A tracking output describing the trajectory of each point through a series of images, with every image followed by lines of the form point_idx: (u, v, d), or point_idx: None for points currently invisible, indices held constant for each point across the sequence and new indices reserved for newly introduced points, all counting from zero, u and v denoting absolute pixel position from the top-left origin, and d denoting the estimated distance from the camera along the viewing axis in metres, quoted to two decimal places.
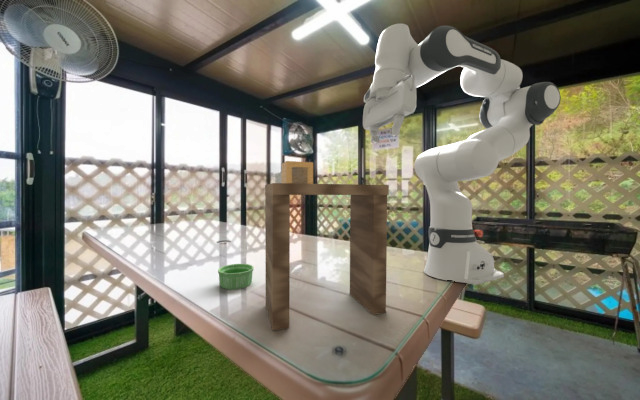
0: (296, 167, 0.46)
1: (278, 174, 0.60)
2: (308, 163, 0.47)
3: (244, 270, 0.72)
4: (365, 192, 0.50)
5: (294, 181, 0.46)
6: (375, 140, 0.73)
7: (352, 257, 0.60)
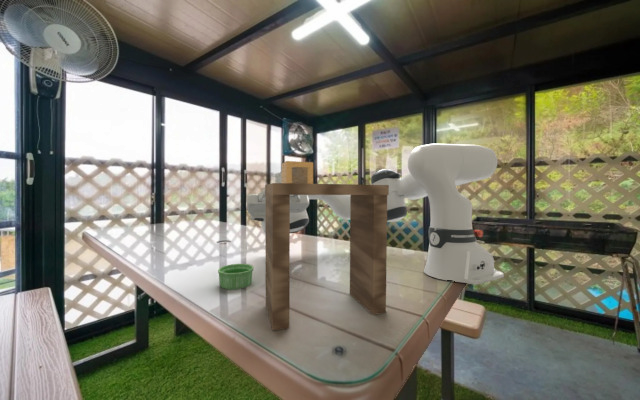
0: (296, 167, 0.46)
1: (278, 174, 0.60)
2: (308, 163, 0.47)
3: (244, 270, 0.72)
4: (365, 192, 0.50)
5: (294, 181, 0.46)
6: None
7: (352, 257, 0.60)
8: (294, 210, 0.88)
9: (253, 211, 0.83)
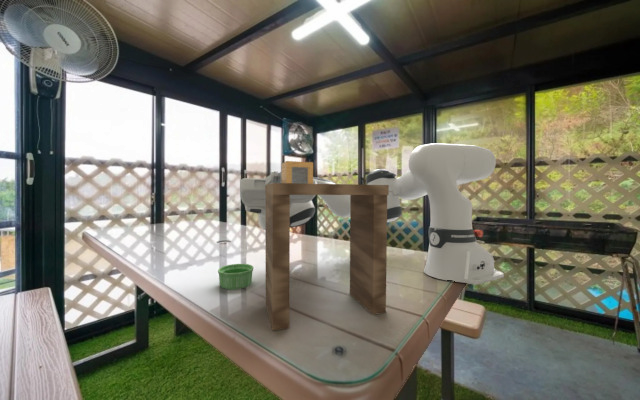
0: (296, 167, 0.46)
1: (278, 174, 0.60)
2: (308, 163, 0.47)
3: (244, 270, 0.72)
4: (365, 192, 0.50)
5: (294, 181, 0.46)
6: None
7: (352, 257, 0.60)
8: (299, 200, 0.72)
9: (248, 200, 0.67)
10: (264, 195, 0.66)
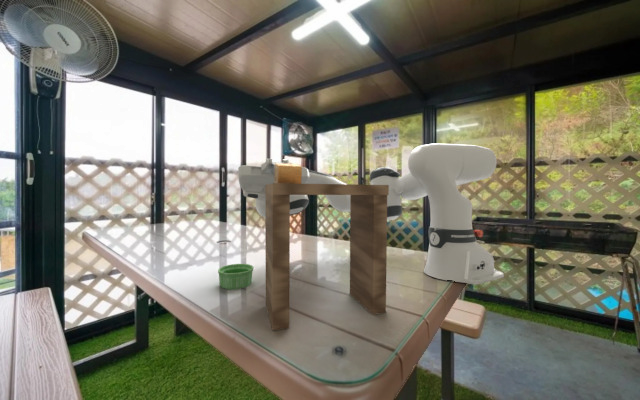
0: (287, 171, 0.54)
1: (273, 165, 0.67)
2: (297, 167, 0.54)
3: (244, 270, 0.72)
4: (365, 192, 0.50)
5: None
6: (271, 160, 0.69)
7: (352, 257, 0.60)
8: None
9: (246, 185, 0.74)
10: (260, 181, 0.73)
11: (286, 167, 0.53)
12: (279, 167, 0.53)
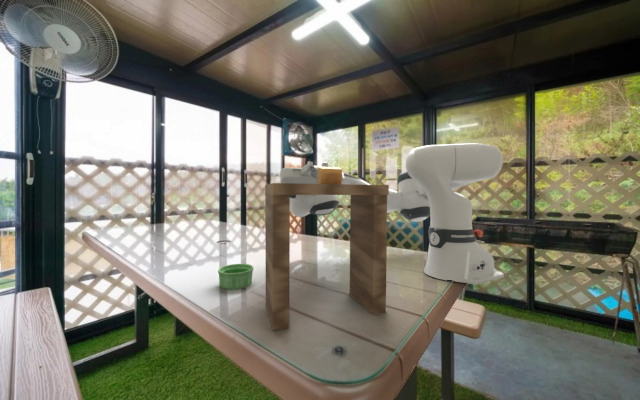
0: (328, 173, 0.59)
1: (313, 168, 0.73)
2: (338, 170, 0.59)
3: (244, 270, 0.72)
4: (365, 192, 0.50)
5: None
6: None
7: (352, 257, 0.60)
8: None
9: None
10: (300, 182, 0.79)
11: (328, 170, 0.59)
12: (322, 170, 0.59)
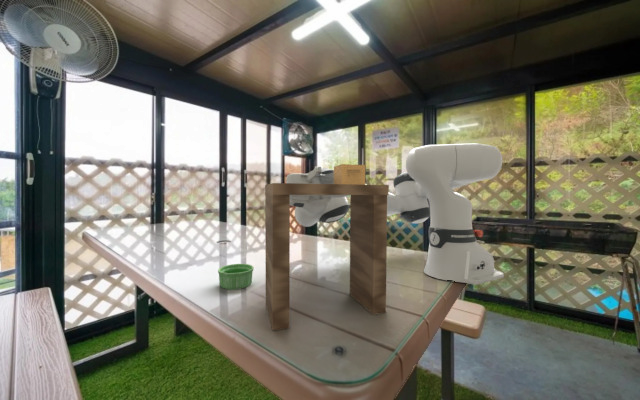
0: (350, 170, 0.51)
1: (324, 176, 0.65)
2: (361, 166, 0.51)
3: (244, 270, 0.72)
4: (365, 192, 0.50)
5: (348, 182, 0.51)
6: None
7: (352, 257, 0.60)
8: None
9: None
10: None
11: (349, 166, 0.51)
12: (343, 166, 0.50)
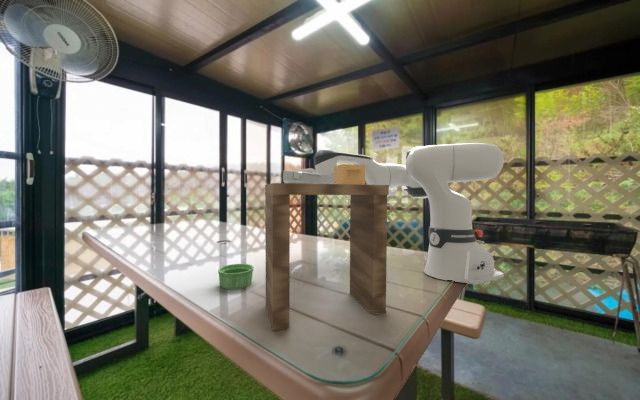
0: (350, 170, 0.51)
1: (324, 176, 0.65)
2: (361, 166, 0.51)
3: (244, 270, 0.72)
4: (365, 192, 0.50)
5: (348, 182, 0.51)
6: (301, 174, 0.85)
7: (352, 257, 0.60)
8: None
9: (288, 182, 0.94)
10: (299, 182, 0.92)
11: (349, 166, 0.51)
12: (343, 166, 0.50)
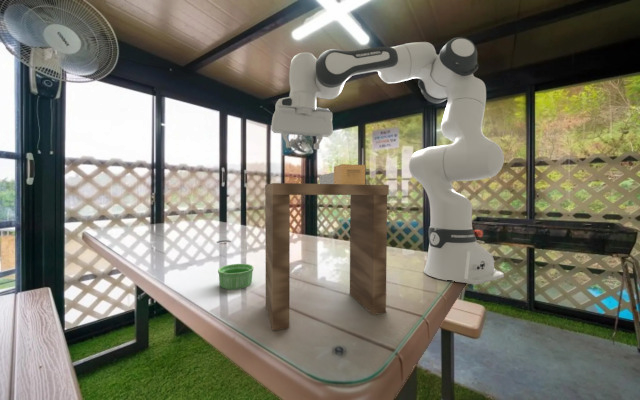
0: (350, 170, 0.51)
1: (324, 176, 0.65)
2: (361, 166, 0.51)
3: (244, 270, 0.72)
4: (365, 192, 0.50)
5: (348, 182, 0.51)
6: None
7: (352, 257, 0.60)
8: None
9: None
10: None
11: (349, 166, 0.51)
12: (343, 166, 0.50)
